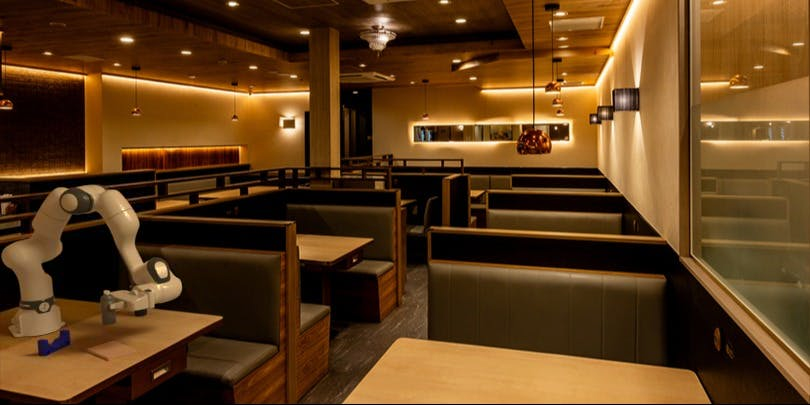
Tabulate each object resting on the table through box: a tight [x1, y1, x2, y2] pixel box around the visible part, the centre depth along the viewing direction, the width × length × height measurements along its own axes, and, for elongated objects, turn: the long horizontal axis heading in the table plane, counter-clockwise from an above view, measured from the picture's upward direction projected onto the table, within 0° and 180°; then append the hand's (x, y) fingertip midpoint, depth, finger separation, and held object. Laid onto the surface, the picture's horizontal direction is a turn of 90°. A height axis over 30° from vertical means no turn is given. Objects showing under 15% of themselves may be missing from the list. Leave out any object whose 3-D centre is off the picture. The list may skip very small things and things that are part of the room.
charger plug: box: [99, 289, 117, 326], centre depth 207 cm, size 5×5×12 cm
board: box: [86, 340, 137, 362], centre depth 209 cm, size 16×10×1 cm, turn 54°
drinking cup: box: [129, 284, 148, 317], centre depth 252 cm, size 8×8×20 cm
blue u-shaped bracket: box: [37, 329, 71, 357], centre depth 212 cm, size 12×4×6 cm, turn 170°
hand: (105, 305), depth 207 cm, fingers closed on charger plug, 5 cm apart
